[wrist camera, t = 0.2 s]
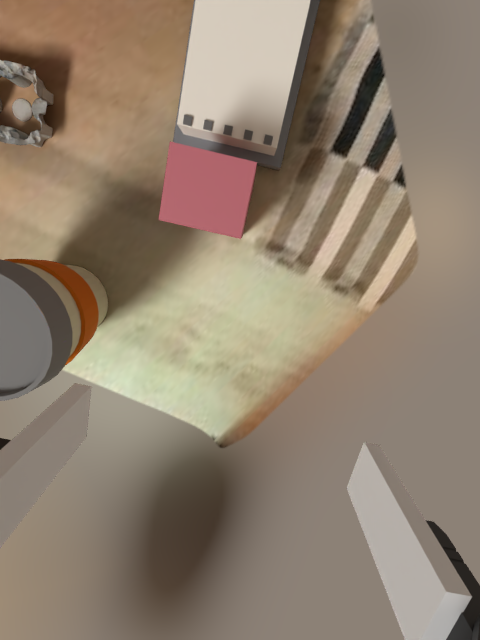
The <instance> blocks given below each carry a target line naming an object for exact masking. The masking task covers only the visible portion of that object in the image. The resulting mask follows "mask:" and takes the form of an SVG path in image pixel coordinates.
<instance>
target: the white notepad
mask: <svg viewBox="0 0 480 640" xmlns="http://www.w3.org/2000/svg"><path fill="white" fill-rule="evenodd" d="M319 2H320V0H194V5H193V12H192V19H191V25H190V32H189V39H188V46H187V52H186V59H185V66H184V72H183V79H182V86H181V93H180V99H179V106H178V113H177V120H176V126H175V133H174V140H173V142H174V143H178V144H182V145H187V146H191V147H195V148H199V149H203V150H208V151H212V152H216V153H220V154H224V155H228V156H233V157H237V158H241V159H245V160H249V161H254V162H257V165H259V166H263V167H267V168H272V169H276V170H280V168H281V164H282V160H283V156H284V151H285V147H286V143H287V139H288V134H289V130H290V126H291V121H292V117H293V113H294V109H295V104H296V100H297V96H298V92H299V87H300V83H301V79H302V75H303V70H304V66H305V62H306V58H307V53H308V49H309V45H310V41H311V36H312V32H313V28H314V24H315V19H316V15H317V11H318V7H319Z"/></svg>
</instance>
